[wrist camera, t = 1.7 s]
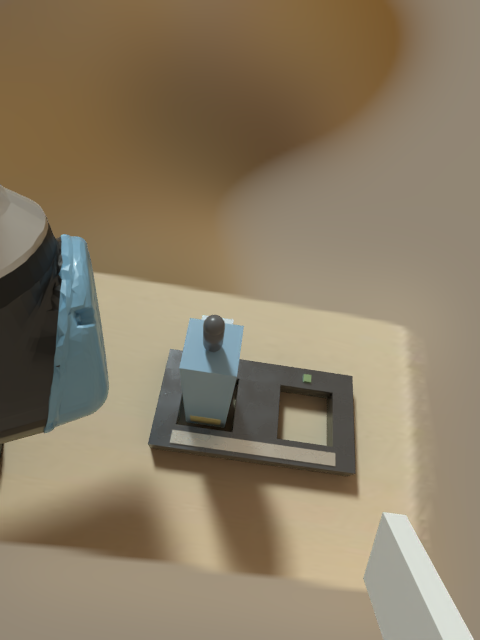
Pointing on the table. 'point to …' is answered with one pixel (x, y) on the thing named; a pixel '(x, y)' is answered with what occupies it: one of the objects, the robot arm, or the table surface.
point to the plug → (209, 369)
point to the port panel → (262, 419)
